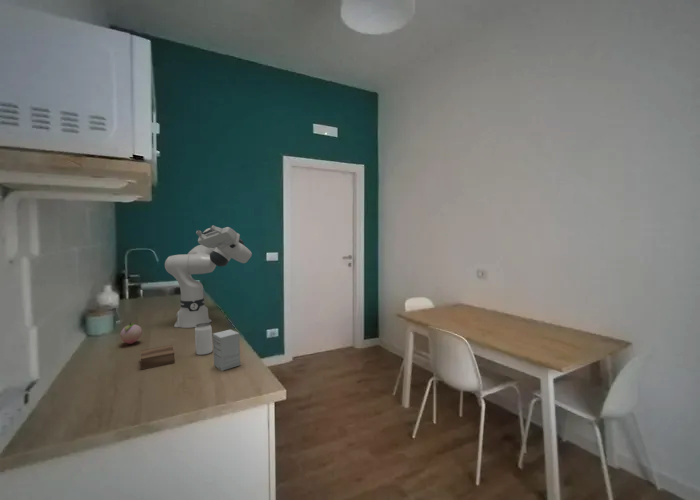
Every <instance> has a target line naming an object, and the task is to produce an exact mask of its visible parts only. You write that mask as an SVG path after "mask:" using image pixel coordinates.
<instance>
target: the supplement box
mask: <svg viewBox="0 0 700 500" xmlns="http://www.w3.org/2000/svg"><path fill="white" fill-rule="evenodd" d="M240 350H241V347H240V333H239V332H238V331H236V330H233V329H227V330H223V331H218V332H212V352H213V366H214V367H216V368H217V369H219V370H220V371H222V372H223V371H227V370H229V369H232V368H236V367H238V366H241V351H240Z"/></svg>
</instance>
